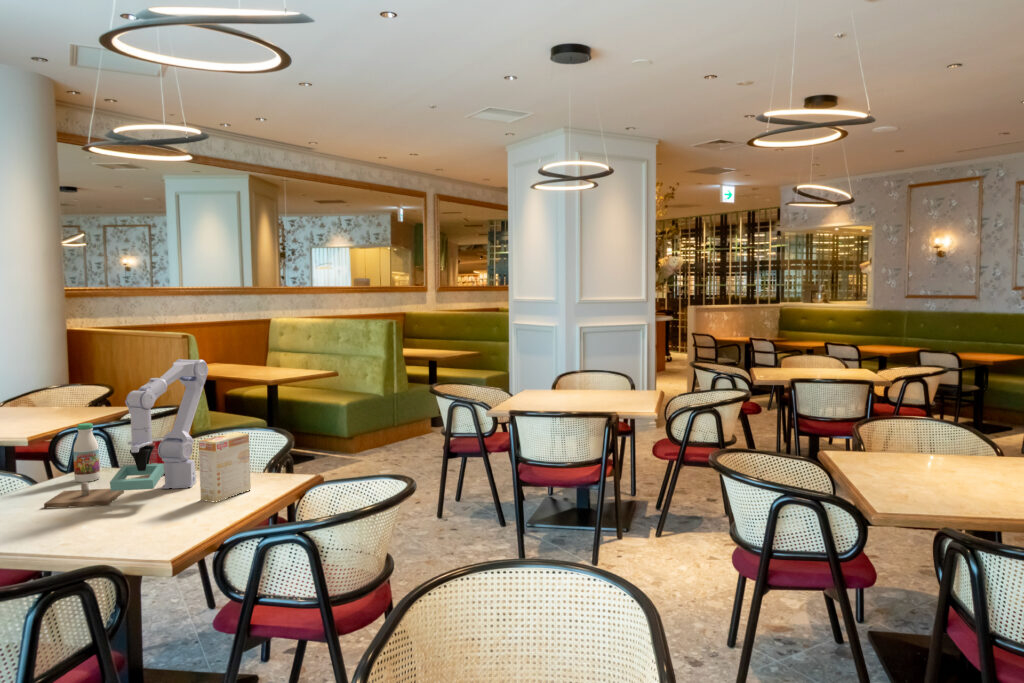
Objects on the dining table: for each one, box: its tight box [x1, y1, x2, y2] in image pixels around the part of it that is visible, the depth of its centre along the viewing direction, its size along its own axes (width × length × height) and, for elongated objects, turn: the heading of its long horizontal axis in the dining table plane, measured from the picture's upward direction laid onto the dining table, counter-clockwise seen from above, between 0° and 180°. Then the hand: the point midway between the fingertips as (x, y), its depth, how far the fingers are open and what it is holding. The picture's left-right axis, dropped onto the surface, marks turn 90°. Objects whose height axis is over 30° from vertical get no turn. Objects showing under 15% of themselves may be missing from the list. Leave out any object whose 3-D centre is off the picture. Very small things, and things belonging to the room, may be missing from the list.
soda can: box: [149, 436, 165, 476], centre depth 255 cm, size 7×7×13 cm
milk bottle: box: [73, 422, 101, 483], centre depth 247 cm, size 8×8×20 cm
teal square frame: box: [109, 463, 164, 491], centre depth 220 cm, size 12×12×3 cm
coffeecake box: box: [198, 431, 252, 503], centre depth 228 cm, size 15×7×20 cm, turn 155°
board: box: [43, 482, 125, 509], centre depth 223 cm, size 18×14×6 cm
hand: (142, 469), depth 225 cm, fingers closed on teal square frame, 2 cm apart
